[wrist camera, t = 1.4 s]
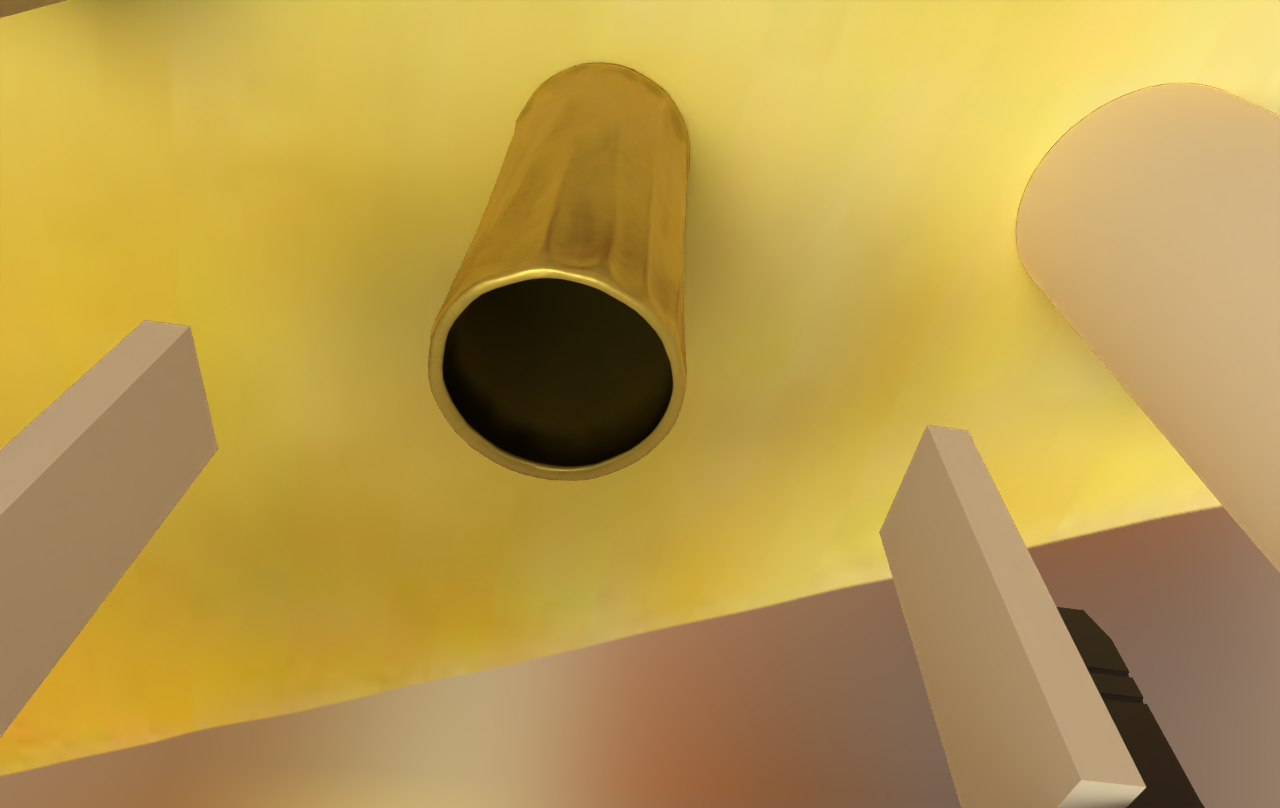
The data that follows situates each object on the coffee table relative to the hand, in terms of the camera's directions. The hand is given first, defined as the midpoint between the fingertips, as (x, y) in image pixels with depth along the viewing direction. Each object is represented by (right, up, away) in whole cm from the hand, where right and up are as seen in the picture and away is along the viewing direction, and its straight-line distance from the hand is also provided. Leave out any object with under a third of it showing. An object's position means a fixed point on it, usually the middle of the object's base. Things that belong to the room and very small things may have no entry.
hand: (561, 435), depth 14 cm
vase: (0, +9, +13) cm, 16 cm away
